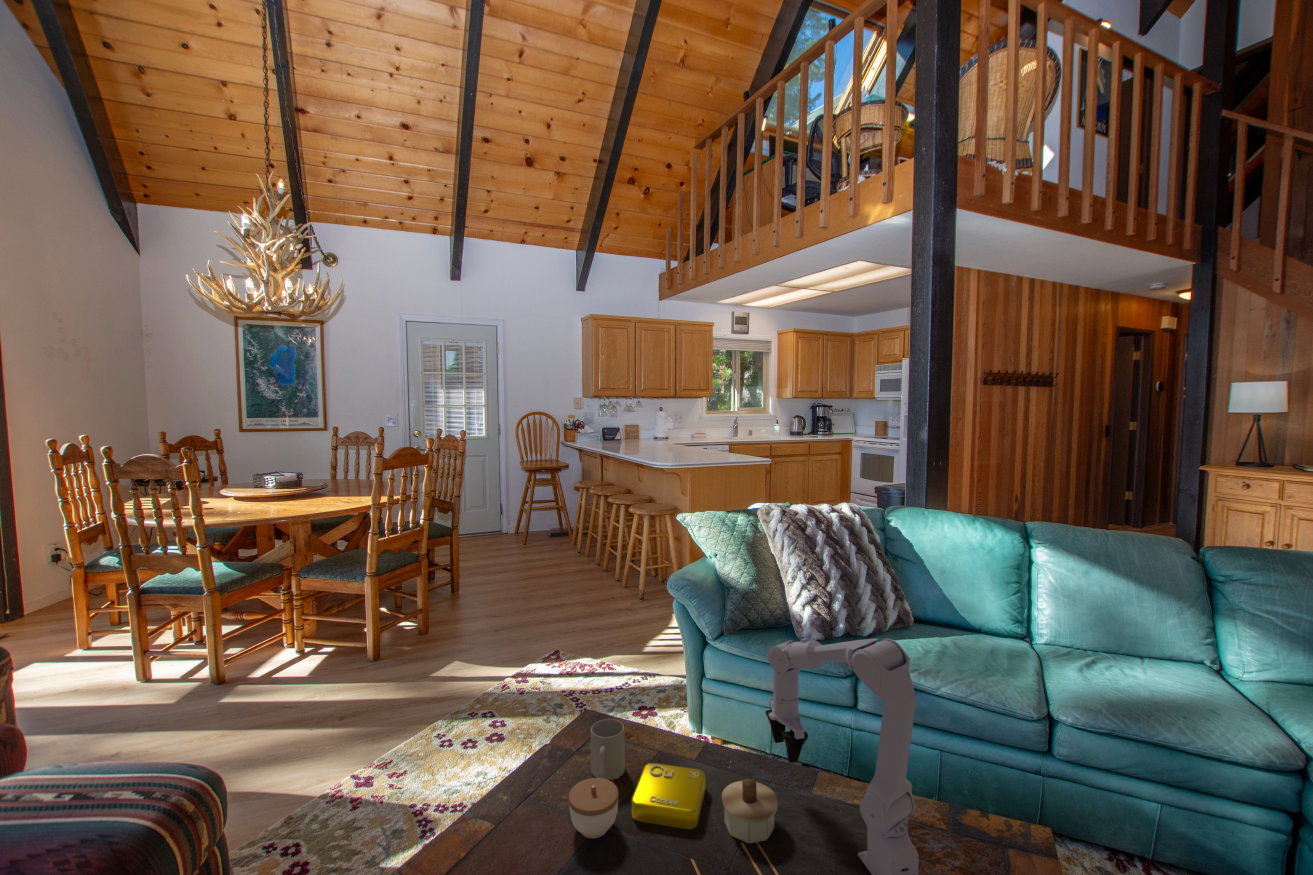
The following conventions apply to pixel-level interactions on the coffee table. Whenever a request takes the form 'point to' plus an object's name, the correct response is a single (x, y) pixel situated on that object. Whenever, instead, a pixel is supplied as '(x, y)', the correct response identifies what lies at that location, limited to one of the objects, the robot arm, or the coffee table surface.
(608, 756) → the mug
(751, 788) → the lid
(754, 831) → the bowl
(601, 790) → the lidded jar
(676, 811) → the element tile
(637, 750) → the coffee table surface
